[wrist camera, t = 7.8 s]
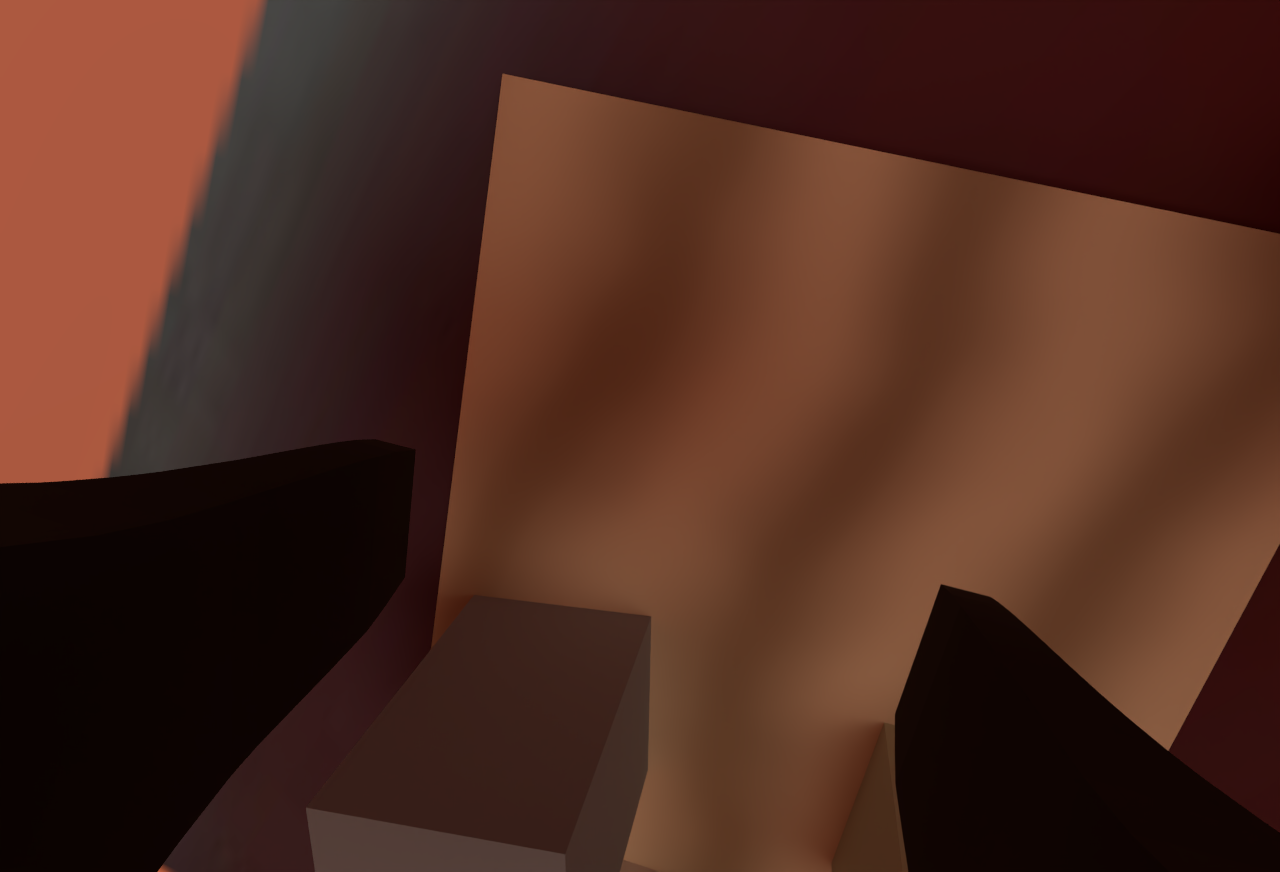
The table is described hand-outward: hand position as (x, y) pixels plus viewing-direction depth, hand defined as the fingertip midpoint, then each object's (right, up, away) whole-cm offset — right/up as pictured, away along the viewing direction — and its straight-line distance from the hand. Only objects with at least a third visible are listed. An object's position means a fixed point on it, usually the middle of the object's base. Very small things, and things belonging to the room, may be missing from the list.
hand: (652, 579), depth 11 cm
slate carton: (-2, -5, +12) cm, 13 cm away
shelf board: (+4, -2, +11) cm, 12 cm away
